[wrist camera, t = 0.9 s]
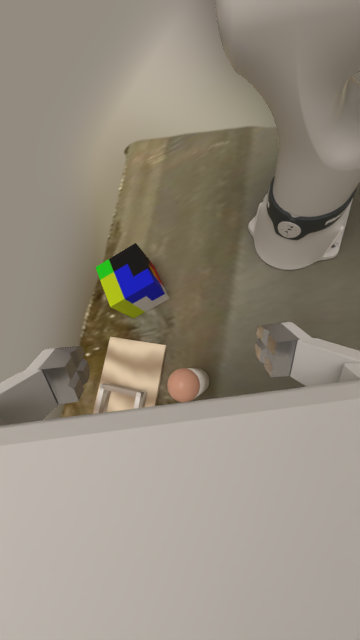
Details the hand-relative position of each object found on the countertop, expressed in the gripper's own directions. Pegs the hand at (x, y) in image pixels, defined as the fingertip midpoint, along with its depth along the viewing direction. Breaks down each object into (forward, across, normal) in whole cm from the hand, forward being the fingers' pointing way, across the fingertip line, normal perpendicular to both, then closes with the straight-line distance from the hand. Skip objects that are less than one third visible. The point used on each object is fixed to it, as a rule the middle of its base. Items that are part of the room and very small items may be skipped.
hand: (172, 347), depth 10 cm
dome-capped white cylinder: (+25, -4, +25) cm, 36 cm away
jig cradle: (+28, +11, +28) cm, 41 cm away
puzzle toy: (+42, +6, +11) cm, 44 cm away
